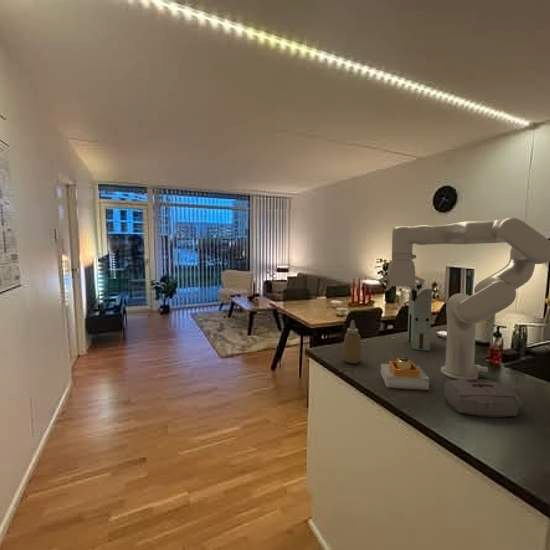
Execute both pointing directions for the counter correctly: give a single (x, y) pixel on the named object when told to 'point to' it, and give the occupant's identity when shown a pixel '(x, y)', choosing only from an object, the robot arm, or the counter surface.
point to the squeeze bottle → (352, 345)
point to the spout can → (403, 363)
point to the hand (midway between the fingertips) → (400, 300)
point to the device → (420, 319)
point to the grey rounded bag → (482, 398)
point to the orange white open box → (404, 377)
